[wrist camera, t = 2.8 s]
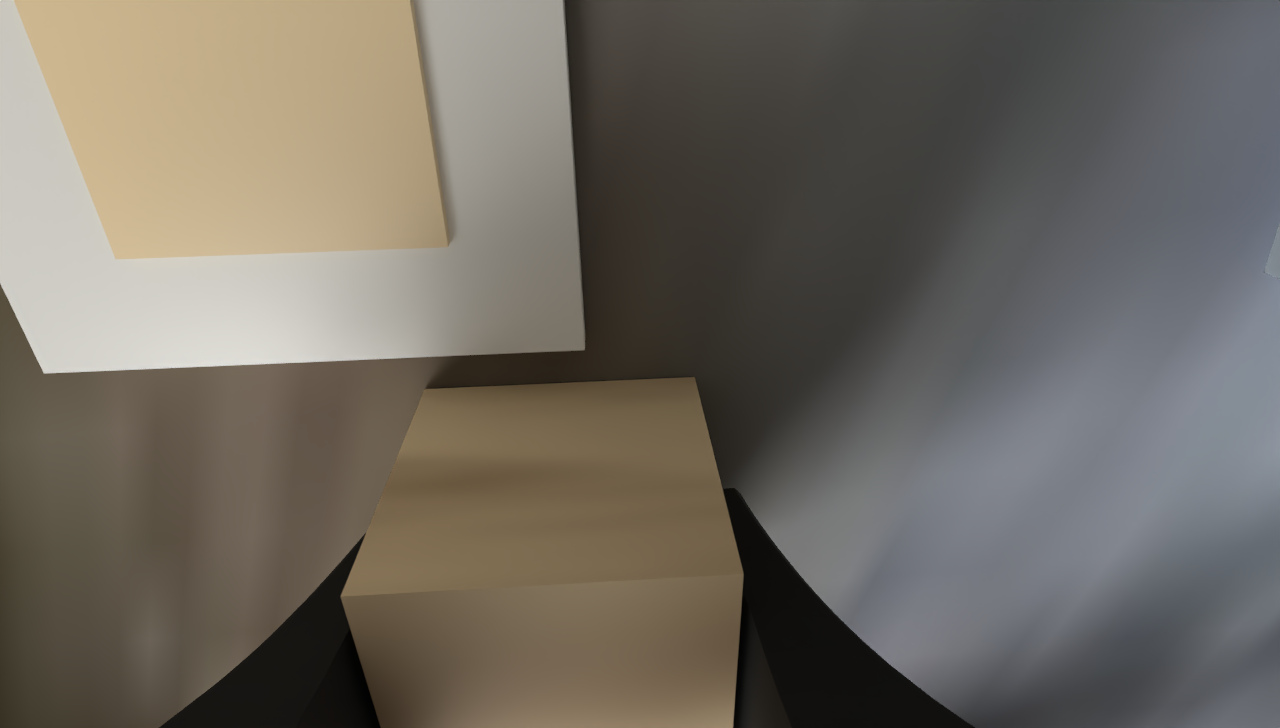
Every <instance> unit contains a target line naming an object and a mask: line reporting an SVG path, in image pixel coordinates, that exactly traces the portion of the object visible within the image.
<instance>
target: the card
mask: <svg viewBox="0 0 1280 728" xmlns="http://www.w3.org/2000/svg"><path fill="white" fill-rule="evenodd" d="M0 283H1V286H2V288H3V290H4V292H5V294H6V296H7V298H8V300H9V302H10V304H11V306H12V308H13V310H14V312H15V315H16V317H17V319H18V321H19V323H20V325H21V327H22V329H23V331H24V333H25V335H26V337H27V339H28V341H29V343H30V346H31V348H32V350H33V352H34V354H35V356H36V358H37V360H38V362H39V364H40V366H41V368H42V370H43V372H44V373H65V372H89V371H112V370H135V369H159V368H182V367H205V366H228V365H252V364H275V363H298V362H322V361H345V360H368V359H392V358H415V357H438V356H461V355H485V354H508V353H531V352H555V351H578V350H585V322H584V306H583V290H582V273H581V257H580V241H579V225H578V209H577V193H576V177H575V161H574V145H573V129H572V113H571V97H570V81H569V65H568V49H567V33H566V17H565V1H564V0H0Z"/></svg>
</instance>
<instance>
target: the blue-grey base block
mask: <svg viewBox="0 0 1280 728" xmlns="http://www.w3.org/2000/svg"><path fill="white" fill-rule="evenodd" d="M1264 272H1265V273H1267V274H1269V275H1271V276H1273V277H1276V278H1278V279H1280V224H1279V227H1278V230H1277V233H1276V236H1275V239H1274V243H1273V246H1272V249H1271V252H1270V255H1269V258H1268V261H1267V264H1266V267H1265V271H1264Z"/></svg>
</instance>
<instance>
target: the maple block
mask: <svg viewBox="0 0 1280 728" xmlns="http://www.w3.org/2000/svg"><path fill="white" fill-rule="evenodd" d="M743 577H744V573H743V569H742V565H741V561H740V557H739V553H738V549H737V545H736V541H735V537H734V533H733V529H732V525H731V521H730V517H729V513H728V509H727V505H726V501H725V497H724V493H723V489H722V485H721V481H720V477H719V473H718V469H717V465H716V461H715V457H714V453H713V449H712V445H711V441H710V437H709V433H708V429H707V425H706V421H705V417H704V413H703V409H702V405H701V400H700V396H699V392H698V388H697V384H696V380H695V377H684V378H661V379H639V380H617V381H594V382H572V383H550V384H527V385H505V386H483V387H460V388H438V389H425V390H424V392H423V394H422V397H421V399H420V402H419V404H418V407H417V409H416V412H415V414H414V417H413V419H412V422H411V424H410V427H409V429H408V431H407V434H406V436H405V439H404V441H403V444H402V446H401V449H400V451H399V454H398V456H397V459H396V461H395V463H394V466H393V468H392V471H391V473H390V476H389V478H388V481H387V483H386V486H385V488H384V491H383V493H382V496H381V498H380V500H379V503H378V505H377V508H376V510H375V513H374V515H373V518H372V520H371V523H370V525H369V528H368V530H367V532H366V535H365V537H364V540H363V542H362V545H361V547H360V550H359V552H358V555H357V557H356V560H355V562H354V564H353V567H352V569H351V572H350V574H349V577H348V579H347V582H346V584H345V587H344V589H343V592H342V594H341V600H342V603H343V606H344V610H345V613H346V616H347V620H348V623H349V626H350V629H351V633H352V636H353V639H354V642H355V646H356V649H357V652H358V655H359V659H360V662H361V665H362V668H363V672H364V675H365V678H366V681H367V685H368V688H369V691H370V694H371V698H372V701H373V704H374V707H375V711H376V714H377V717H378V721H379V724H380V727H381V728H733V721H734V707H735V692H736V678H737V663H738V649H739V634H740V620H741V606H742V591H743Z"/></svg>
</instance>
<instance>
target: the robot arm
mask: <svg viewBox="0 0 1280 728" xmlns="http://www.w3.org/2000/svg"><path fill="white" fill-rule="evenodd" d="M723 493H724V497H725V501H726V505H727V509H728V513H729V517H730V521H731V525H732V529H733V533H734V537H735V541H736V545H737V549H738V553H739V557H740V561H741V565H742V569H743V573H744V577H743V591H742V606H741V620H740V634H739V649H738V663H737V678H736V692H735V707H734V721H733V728H975V727H973V726H972V725H970V724H969V723H967V722H966V721H964V720H963V719H961V718H960V717H959V716H957V715H956V714H954V713H953V712H951V711H950V710H948V709H947V708H946V707H944V706H943V705H941V704H940V703H938V702H937V701H936V700H934V699H933V698H931V697H930V696H929V695H928V694H926V693H925V692H924V691H923V690H921V689H920V688H919V687H917V686H916V685H915V684H914V683H912V682H911V681H910V680H909V679H907V678H906V677H905V676H903V675H902V674H901V673H900V672H898V671H897V670H896V669H895V668H893V667H892V666H891V665H889V664H888V663H887V662H886V661H885V660H884V659H883V658H881V657H880V656H879V655H878V654H877V653H876V652H875V651H874V650H872V649H871V648H870V647H869V646H868V645H867V644H866V643H864V642H863V641H862V640H861V639H860V638H859V637H858V636H857V635H856V634H855V633H854V632H853V631H852V630H851V629H850V628H849V627H848V626H847V625H845V624H844V623H843V622H842V621H841V620H840V619H839V617H838V616H837V615H836V614H835V613H834V612H833V611H832V610H831V609H830V608H829V607H828V606H827V605H826V604H825V603H824V602H823V601H822V600H821V599H820V597H819V596H818V595H817V594H816V593H815V592H814V591H813V590H812V589H811V588H810V586H809V585H808V584H807V583H806V582H805V581H804V579H803V578H802V577H801V576H800V575H799V574H798V572H797V571H796V570H795V569H794V568H793V566H792V565H791V564H790V563H789V561H788V560H787V559H786V558H785V556H784V555H783V554H782V553H781V551H780V550H779V549H778V548H777V546H776V545H775V544H774V542H773V541H772V540H771V538H770V537H769V536H768V534H767V533H766V531H765V530H764V529H763V527H762V526H761V524H760V523H759V522H758V520H757V519H756V517H755V516H754V514H753V513H752V511H751V510H750V508H749V507H748V505H747V504H746V502H745V500H744V499H743V497H742V496H741V494H740V493H739V492H738V491H737V490H736V489H735V488H729V489H723ZM365 535H366V533H365V534H364V536H363V537H362V538H361V539H360V540H359V541H358V543H357V544H356V545H355V546H354V547H353V548H352V550H351V551H350V552H349V553H348V554H347V555H346V557H345V558H344V559H343V560H342V561H341V562H340V563H339V565H338V566H337V567H336V568H335V569H334V570H333V571H332V572H331V573H330V574H329V576H328V577H327V578H326V579H325V580H324V581H323V582H322V583H321V584H320V586H319V587H318V588H317V589H316V590H315V591H314V592H313V593H312V594H311V595H310V596H309V597H308V598H307V600H306V601H305V602H304V603H303V604H302V605H301V606H300V607H299V608H298V609H297V610H296V611H295V612H294V613H293V614H292V615H291V616H290V617H289V618H288V619H287V620H286V621H285V622H284V623H283V624H282V625H281V626H280V627H279V628H278V629H277V630H276V631H275V632H274V633H273V634H272V635H271V636H270V637H269V638H268V639H266V640H265V641H264V642H263V643H262V644H261V645H260V646H259V647H258V648H257V649H256V650H255V651H254V652H253V653H251V654H250V655H249V656H248V657H247V658H246V659H245V660H243V661H242V662H241V663H240V664H239V665H238V666H236V667H235V668H234V669H233V670H232V671H231V672H230V673H228V674H227V675H226V676H225V677H224V678H222V679H221V680H220V681H219V682H218V683H216V684H215V685H214V686H213V687H211V688H210V689H209V690H207V691H206V692H205V693H204V694H202V695H201V696H200V697H198V698H197V699H196V700H195V701H193V702H192V703H191V704H189V705H188V706H187V707H185V708H184V709H183V710H182V711H180V712H179V713H178V714H176V715H175V716H174V717H172V718H171V719H170V720H169V721H167V722H166V723H165V724H163V725H162V726H161V727H159V728H381V727H380V724H379V721H378V717H377V714H376V711H375V707H374V704H373V701H372V698H371V694H370V691H369V688H368V685H367V681H366V678H365V675H364V672H363V668H362V665H361V662H360V659H359V655H358V652H357V649H356V646H355V642H354V639H353V636H352V633H351V629H350V626H349V623H348V620H347V616H346V613H345V610H344V606H343V603H342V600H341V594H342V592H343V589H344V587H345V584H346V582H347V579H348V577H349V574H350V572H351V569H352V567H353V564H354V562H355V560H356V557H357V555H358V552H359V550H360V547H361V545H362V542H363V540H364V537H365Z"/></svg>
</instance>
